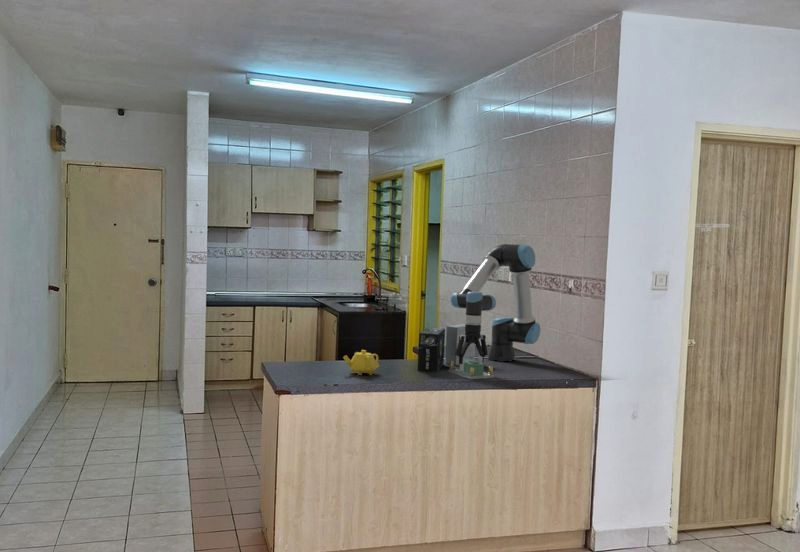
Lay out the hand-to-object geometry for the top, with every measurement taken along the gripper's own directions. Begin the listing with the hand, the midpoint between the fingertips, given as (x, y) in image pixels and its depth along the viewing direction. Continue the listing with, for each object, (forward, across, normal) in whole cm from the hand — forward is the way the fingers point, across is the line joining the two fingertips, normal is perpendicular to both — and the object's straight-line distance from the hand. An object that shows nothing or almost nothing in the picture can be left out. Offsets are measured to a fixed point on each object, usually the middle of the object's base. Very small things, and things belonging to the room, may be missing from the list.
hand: (470, 370), depth 351 cm
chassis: (+2, 0, 0) cm, 2 cm away
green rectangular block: (+1, 0, 0) cm, 1 cm away
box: (+2, +10, -21) cm, 23 cm away
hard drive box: (+2, -12, -29) cm, 31 cm away
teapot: (+2, +51, -16) cm, 54 cm away
